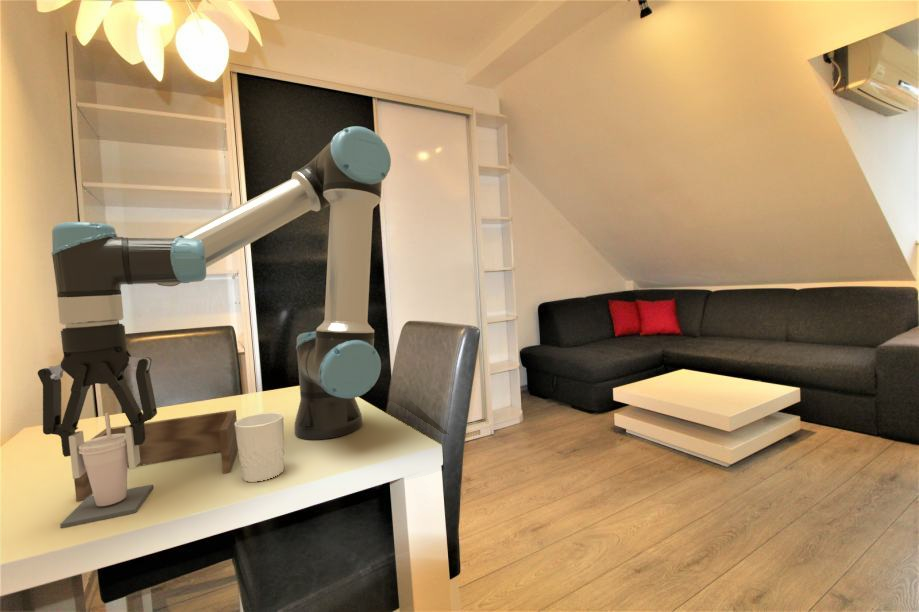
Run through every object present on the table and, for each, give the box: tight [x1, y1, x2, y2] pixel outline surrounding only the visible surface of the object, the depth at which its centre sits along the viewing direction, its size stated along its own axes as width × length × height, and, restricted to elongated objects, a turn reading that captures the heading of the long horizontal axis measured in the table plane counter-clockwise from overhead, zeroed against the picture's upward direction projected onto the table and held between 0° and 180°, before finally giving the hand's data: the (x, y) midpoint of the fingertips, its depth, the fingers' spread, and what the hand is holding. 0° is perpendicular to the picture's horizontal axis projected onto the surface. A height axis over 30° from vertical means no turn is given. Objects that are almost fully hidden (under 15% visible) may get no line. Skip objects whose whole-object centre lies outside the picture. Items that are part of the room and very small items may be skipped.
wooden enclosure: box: [73, 409, 238, 502], centre depth 80 cm, size 22×14×8 cm, turn 112°
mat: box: [59, 484, 154, 529], centre depth 67 cm, size 9×9×1 cm
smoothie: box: [78, 411, 129, 506], centre depth 67 cm, size 6×6×14 cm
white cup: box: [234, 412, 285, 483], centre depth 76 cm, size 8×8×10 cm
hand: (108, 469), depth 67 cm, fingers closed on smoothie, 6 cm apart
